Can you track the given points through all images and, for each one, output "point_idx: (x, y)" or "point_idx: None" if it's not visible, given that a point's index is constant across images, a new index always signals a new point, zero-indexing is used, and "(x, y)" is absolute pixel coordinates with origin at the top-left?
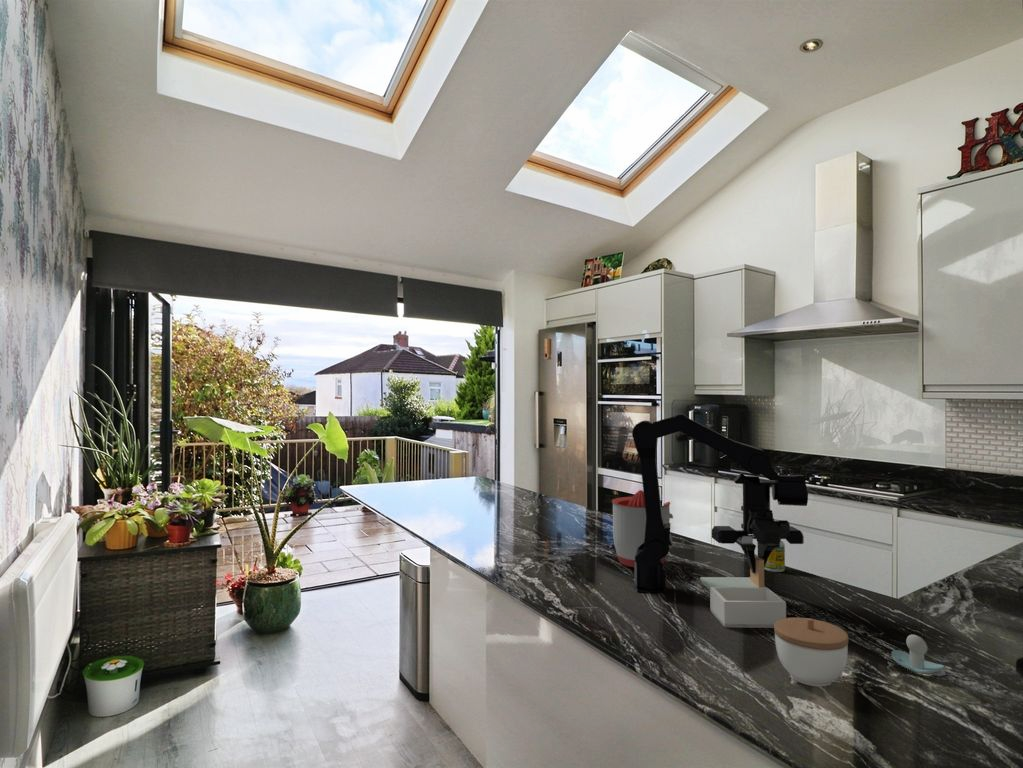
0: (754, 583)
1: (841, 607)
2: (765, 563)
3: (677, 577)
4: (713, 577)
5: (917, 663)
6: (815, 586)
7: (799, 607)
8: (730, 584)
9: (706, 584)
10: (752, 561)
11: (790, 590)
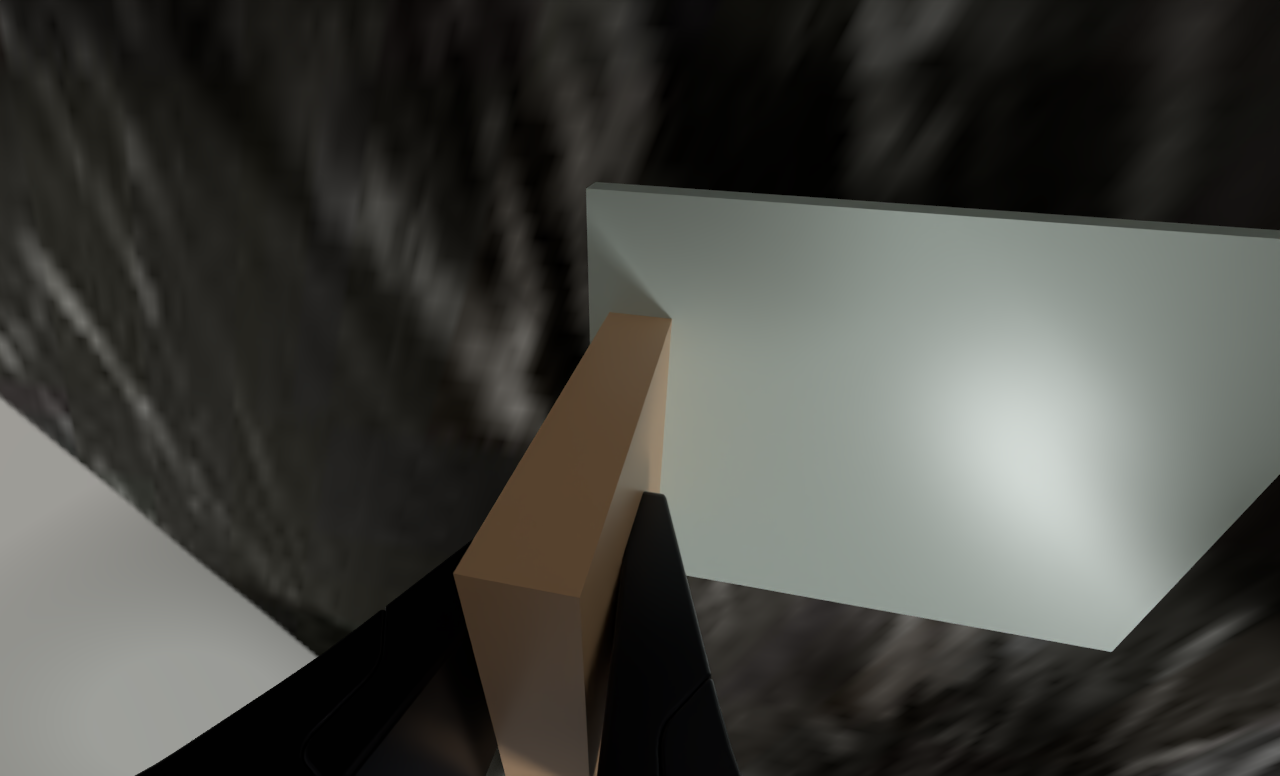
0: (663, 429)
1: (51, 74)
2: (451, 561)
3: (1007, 734)
4: (977, 621)
5: None
6: (232, 484)
7: (377, 80)
8: (955, 441)
9: (1239, 498)
10: (671, 635)
11: (378, 451)
